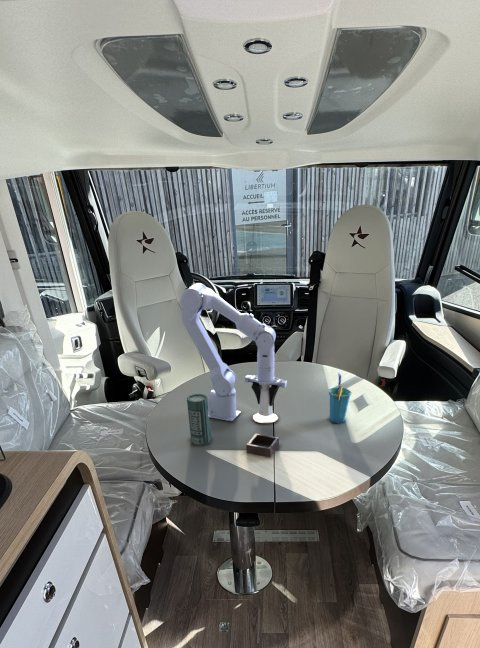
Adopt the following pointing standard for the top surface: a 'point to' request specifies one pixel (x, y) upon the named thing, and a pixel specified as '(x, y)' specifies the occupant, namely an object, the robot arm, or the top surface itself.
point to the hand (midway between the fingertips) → (265, 404)
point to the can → (199, 419)
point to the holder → (260, 450)
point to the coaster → (265, 418)
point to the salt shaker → (265, 401)
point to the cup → (339, 402)
